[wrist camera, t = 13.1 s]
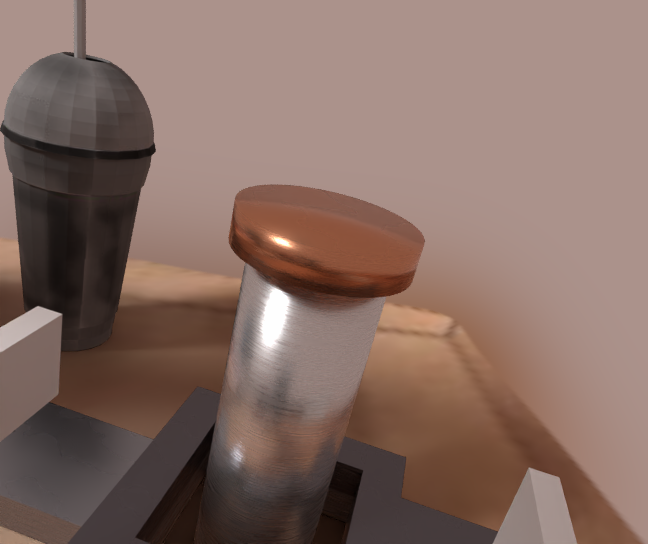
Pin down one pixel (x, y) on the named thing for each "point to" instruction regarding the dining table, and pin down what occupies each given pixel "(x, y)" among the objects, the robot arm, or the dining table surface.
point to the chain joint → (182, 483)
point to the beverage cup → (76, 183)
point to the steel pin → (296, 355)
